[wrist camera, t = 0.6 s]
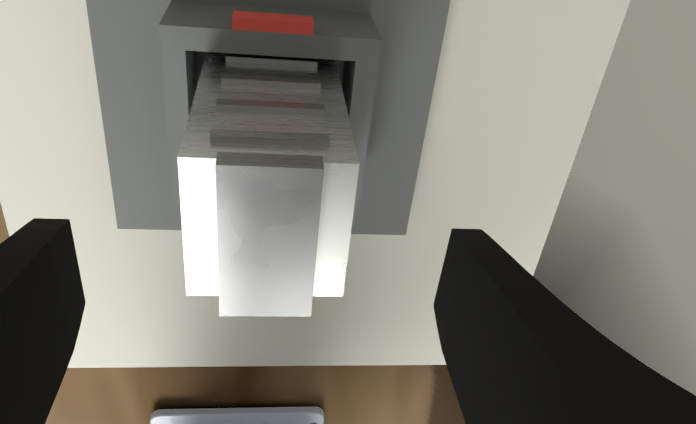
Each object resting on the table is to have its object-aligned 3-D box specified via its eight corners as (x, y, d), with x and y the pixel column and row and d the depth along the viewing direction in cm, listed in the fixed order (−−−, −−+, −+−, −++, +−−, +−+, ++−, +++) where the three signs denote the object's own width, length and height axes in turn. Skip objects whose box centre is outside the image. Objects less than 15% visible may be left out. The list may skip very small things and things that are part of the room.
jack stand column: (324, 159, 19) (345, 317, 13) (211, 154, 19) (182, 316, 13) (334, 43, 17) (365, 170, 11) (208, 35, 17) (171, 163, 11)
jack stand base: (499, 357, 28) (525, 423, 25) (47, 360, 25) (17, 434, 22) (772, -429, 14) (908, -493, 11) (-206, -621, 11) (-384, -778, 8)
